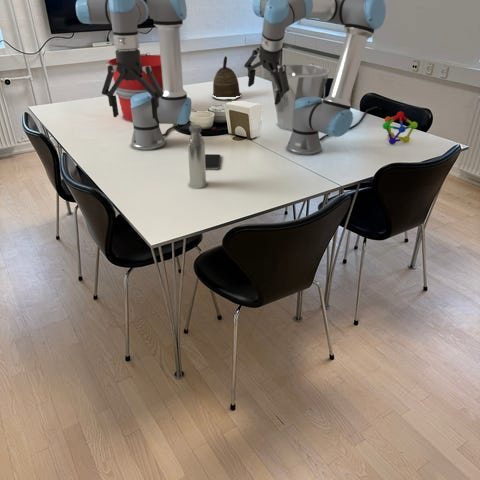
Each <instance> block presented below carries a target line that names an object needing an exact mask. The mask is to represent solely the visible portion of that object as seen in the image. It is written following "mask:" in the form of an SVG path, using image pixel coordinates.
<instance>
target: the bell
mask: <svg viewBox="0 0 480 480" xmlns="http://www.w3.org/2000/svg"><path fill="white" fill-rule="evenodd" d="M227 63H228V57H227V56H224V58H223V63H222V67H221V68H219V69H218V70H217V71H216V73H215V75H214V78H213V81H212V83H213V84H212V95H214V96H216V97H236V96H240V95H241V96H242V93H241V92H240V83H239V80H238V79H239V78H238V77H237V75H236V73H235V72H234V70H232V69H231V68H230V67H227Z"/></svg>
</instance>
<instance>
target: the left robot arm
mask: <svg viewBox="0 0 480 480" xmlns="http://www.w3.org/2000/svg"><path fill="white" fill-rule="evenodd" d="M187 11H188V9H187V3H186V0H76V2H75V13H76V17H77V19H78V21H79V22H80V23H82V24H89V25H111V28H112V37H113V43H114V48H115V52H114V53H115V58H116V60H117V66H114V65H113V64H111V65H110V64H108V65H109V66H107V74H106V78H105V81H104V84H103V86H102V90H101V94H102V95H104V96H107V98H108V105H109V107H111V108H112V114H113V118H117V117H118V116H119V115H120V114H119V108H118V107H119V106H118V101H117V94H116V90H117V88H118V87H119V85H120V84H121V82H122V81H123V80H125V81H128V80H132V81H135V80H137V81H138V82H140V83H141V84H142V85H143V87H144V88H145V89H146V90H147V91H148V92H145V93H140V94H136V95H134V96H133V97H132V98H131V111H132V118H133V122H132V125H133V132H132V135H131V142H130V143H131V147H132V148H134V149H135V150H141V151H151V150H153V151H154V150H157V149H161V148H163V147H164V146H165V144H166V140H165V136H167V135H168V134H169V132H170V131H171V130H174V129H175V128H177V127H180V126H183V125H186V124H188V123H189V120H190V119H191V113H192V99H191V97H189V96H188V93H187V91H185V89H184V84H183V67H182V51H181V50H182V49H181V34H180V33H181V31H180V29H181V28H182V26H183V25H184V23H183V21H184V20H186V19H187V15H188V13H187ZM146 20H153V26H154V27H155V28H156V29H157V32H158V44H159V56H160V57H161V69H162V81H163V90H162V89H161V87H160V85H159V83H158V82H157V80H156V78H155V76H154V74H153V73H152V68H151V66H150V65H149V66H146V67H142V65H141V57H140V54H141V50H140V49H139V48H140V42H139V41H140V39H139V31H138V25H141V24H143V23H144V22H146ZM116 70H117V71H118V73H119V74H120V75H119V77H118V78H117V80H116V82H115V83H114V84H112V81H113V75H114V72H115V71H116ZM142 71H144V72H145V73H146V74H147V76H148V78H149V80H150V82H151V83H152V85H153V87H154V89H155V90H154V89H153V88H152V86H151V85H150V84H149V83H148V82H147V81H146V79H145V78H144V76H143V75H142V74H141V73H142ZM111 84H112V85H111ZM110 86H111V88H110ZM160 124H161V125H164V124H165V125H173V126H171V127H169V128H167V129H166V131H165V133H163V132H162V130H161V127H160ZM178 124H179V125H178ZM175 125H177V126H175Z"/></svg>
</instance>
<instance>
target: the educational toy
mask: <svg viewBox="0 0 480 480" xmlns="http://www.w3.org/2000/svg"><path fill="white" fill-rule="evenodd" d="M397 119H399V124H400V125H399V127H398V126H393V125H391V124H392V123H394V122H395V121H396V120H397ZM403 120H404V121H405V122H407V123H408V124H409V125H407V126H404V123H403ZM417 127H418V122H417V121H411V120H410V119H409V118H408V117H406V116H405V113H404V112H403V111H401V110H400V111H398V112H397V114H396V115H394V116H391V117H390V116H386V117H385V118H384V122H383V123H382V129H383V130H386V132H387V138H388V142H389V145H395V144H396V143H397V142H402V141H403V142H404V143H409V142H410V140H411V138H410V136H411V134H412V132H413V131H414V130H415V129H417ZM392 129H393V130H397V131H398V132H396V134H395V133H394V132H392ZM408 129H409V131H408V133H407V134H406V135H404V136H401V134H403V133H405V132H406V130H408ZM399 135H400V136H399Z"/></svg>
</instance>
